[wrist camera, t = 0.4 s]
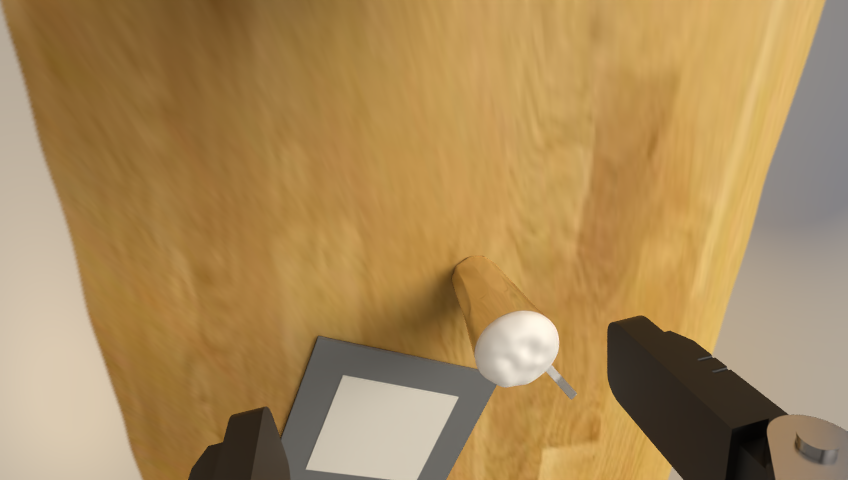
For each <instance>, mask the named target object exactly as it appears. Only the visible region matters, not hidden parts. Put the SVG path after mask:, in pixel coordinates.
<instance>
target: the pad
mask: <svg viewBox="0 0 848 480" xmlns="http://www.w3.org/2000/svg"><path fill="white" fill-rule="evenodd" d="M496 385H497V384H495V383H493V382H491V381H490V380H488V379H486V378H485V377H484V376H483V375H482V374H481V373H480V371H479V370H478V369H473V368H469V367H464V366H459V365H454V364H450V363H445V362H440V361H435V360H431V359H426V358H421V357H416V356H412V355H407V354H402V353H397V352H393V351H388V350H383V349H378V348H374V347H369V346H364V345H359V344H355V343H350V342H345V341H340V340H336V339H331V338H326V337H321V336H318V338H317V341H316V343H315V346H314V349H313V352H312V354H311V357H310V360H309V363H308V365H307V368H306V371H305V374H304V376H303V379H302V382H301V385H300V387H299V390H298V393H297V396H296V398H295V401H294V404H293V406H292V409H291V412H290V415H289V417H288V420H287V423H286V426H285V428H284V431H283V434H282V437H281V442H282V444H283V447H284V450H285V453H286V456H287V459H288V464H289V469H290V479H291V480H446V479H447V477H448V475H449V473H450V471H451V469H452V467H453V466H454V464H455V462H456V460H457V458H458V456H459V454H460V452H461V451H462V449H463V447H464V445H465V443H466V441H467V439H468V437H469V436H470V434H471V432H472V430H473V428H474V426H475V424H476V423H477V421H478V419H479V417H480V415H481V413H482V411H483V409H484V408H485V406H486V404H487V402H488V400H489V398H490V396H491V394H492V393H493V391H494V389H495V387H496Z"/></svg>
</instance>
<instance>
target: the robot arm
mask: <svg viewBox="0 0 848 480" xmlns="http://www.w3.org/2000/svg"><path fill="white" fill-rule="evenodd" d="M607 374H608V381H609V385H610V388H611V390H612V393H613V395H614V396H615V398H616V400H617V401H618V402H619V404H620V405H621V406H622V407H623V408H624V410H625V411H626V412H627V413H628V414H629V415H630V417H631V418H632V419H633V420H634V421H635V423H636V424H637V425H638V426H639V427H640V429H641V430H642V431H643V432H644V433H645V435H646V436H647V437H648V438H649V439H650V440H651V442H652V443H653V444H654V445H655V446H656V448H657V449H658V450H659V451H660V452H661V454H662V455H663V456H664V457H665V458H666V459H667V461H668V462H669V463H670V464H671V465H672V467H673V468H674V469H675V470H676V471H677V473H678V474H679V475H680V476H681V477H682V478H683V480H848V431H846V430H844V429H843V428H841V427H839V426H837V425H835V424H833V423H830V422H828V421H825V420H822V419H819V418H816V417H811V416H806V415H788V414H787V413H786V412H784V411H783V410H782V409H781V408H779V407H778V406H777V405H776V404H774V403H773V402H771V401H770V400H769V399H768V398H766V397H765V396H764V395H763V394H761V393H760V392H759V391H758V390H756V389H755V388H754V387H752V386H751V385H750V384H749V383H747V382H746V381H745V380H743V379H742V378H741V377H739V376H738V375H737V374H736V373H734V372H733V371H732V370H728V369H727V366H725V365H724V364H723V363H722V362H720V361H719V360H718V359H716V358H713V357H712V355H711V354H710V353H709V352H707V351H706V350H705V349H704V348H702V347H701V346H700V345H698V344H697V343H696V342H694V341H693V340H691V339H688V338H686V337H684V336H681V335H679V334H677V333H674V332H672V331H667V332H663V331H662V330H661V329H660V328H659V327H657V326H656V325H655V324H654V323H653V322H651V321H650V320H649V319H648V318H646V317H644V316H636V317H632V318H628V319H624V320H620V321H616V322H612V323H610V324H609V326H608V332H607ZM188 480H291V479H290V469H289V464H288V459H287V456H286V453H285V450H284V447H283V444H282V442H281V439H280V436H279V433H278V430H277V427H276V425H275V422H274V419H273V416H272V413H271V411H270V409H269V408H268V407H262V408H258V409H254V410H250V411H246V412H242V413H238V414H234V415H232V416H231V417H230V419H229V422H228V426H227V429H226V433H225V437H224V441H223V442H222V443H218V444H214V445H211V446H208V447H207V449H206V450H205V451H204V453H203V454H202V455H201V457H200V458H199V460H198V461H197V462H196V464H195V465H194V466H193V468H192V470H191V473H190V476H189V479H188Z"/></svg>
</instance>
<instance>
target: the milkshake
mask: <svg viewBox="0 0 848 480" xmlns="http://www.w3.org/2000/svg"><path fill="white" fill-rule="evenodd" d="M451 280H452V283H453V286H454V290H455V293H456V296H457V299H458V302H459V305H460V308H461V311H462V314H463V317H464V319H465V323H466V327H467V332H468V336H469V339H470V343H471V346H472V350H473V353H474V357H475V361H476V365H477V368H478V370H479V371H480V373H481V374H482V375H483V376H484V377H485V378H486V379H488V380H490V381H491V382H493V383H495V384H497V385H499V386H501V387H512V386H516V385H525V384H528V383H530V382H532V381H534V380H535V379H537V378H538V377H539V376H541V375H542V374H543V373H544V372H545V371H546V372H547V373H548V374H549V375H550V376H551V378H552V379H553V380H554V381H555V382H556V383H557V384H558V386H559V387H560V388H561V389H562V390H563V391H564V392H565V394H566V395H567V396H568V397H569V398H570V399H573V398H574V397H575V396H576V394H577V393H576V392H575V391H574V389H573V388H572V387H571V386H570V385H569V384H568V383H567V382H566V380H565V379H564V378H563V377H562V376H561V375H560V374H559V373H558V372H557V370H556V369H555V368H554V367H553V366H552V365H551V364H552V363H553V361H554V359H555V358H556V356H557V353H558V349H559V337H558V333H557V330H556V328H555V326H554V324H553V323H552V322H551V321H550V320H549V319H548V318H547V317H546V316H545V315H544V314H543V313H542V312H541V311H540V310H539V309H538V308H537V307H536V306H535V305H534V304H533V303H532V302H531V301H530V300H529V299H528V298H527V297H526V296H525V295H524V294H523V293H522V292H521V291H520V290H519V288H518V287H517V286H516V285H515V284H514V283H513V282H512V281H511V280H510V279H509V278H508V277H507V275H506V274H505V273H504V272H503V271H502V270H501V269H500V268H499V267H498V266H497V265H496V264H495V263H494V262H492V261H491V260H489V259H488V258H486V257H485V256H475V257H468V258H467V259H465V260H464V261H462V262H461V263H460V264H458V265H457V266H456V268H455V271H454V273H453V276H452V278H451Z"/></svg>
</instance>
